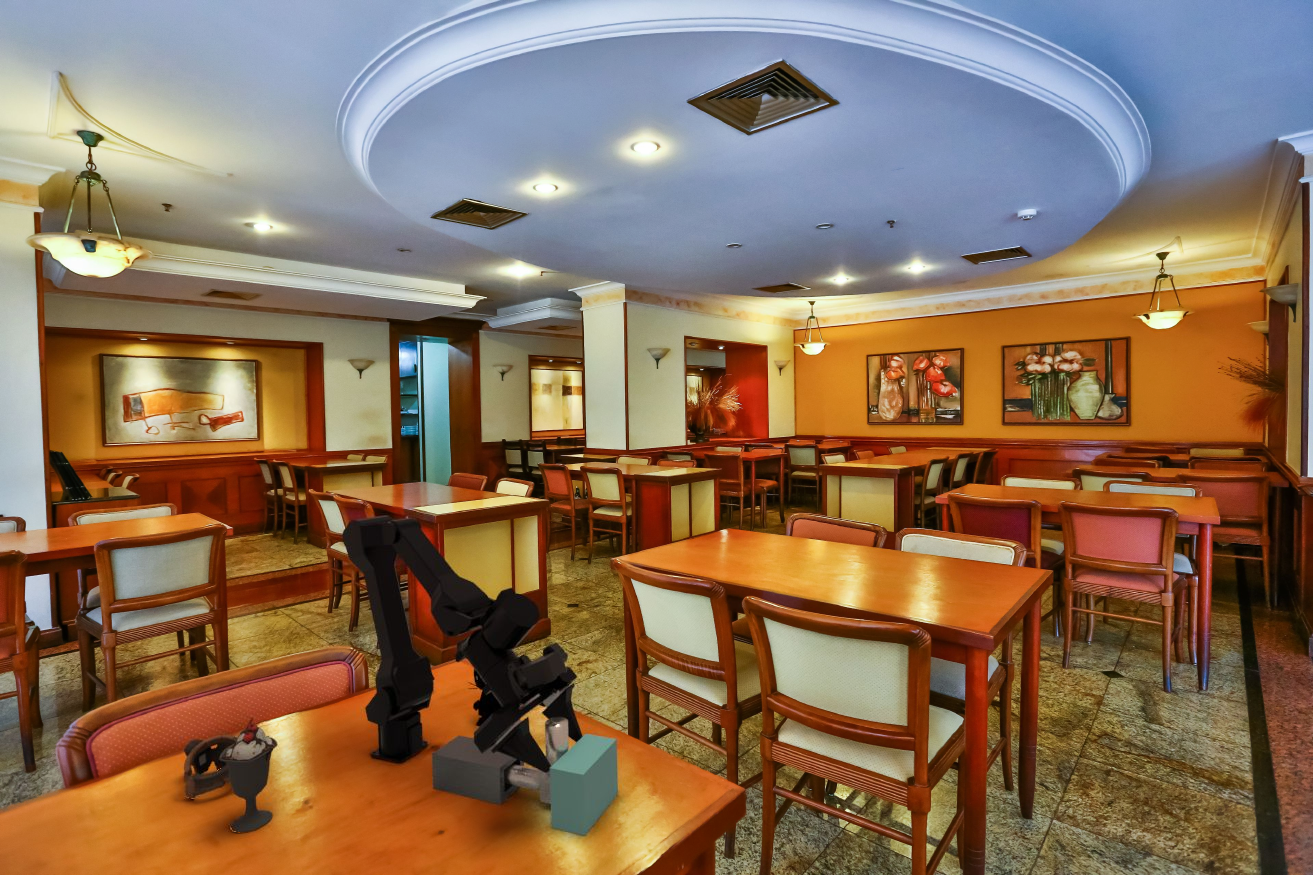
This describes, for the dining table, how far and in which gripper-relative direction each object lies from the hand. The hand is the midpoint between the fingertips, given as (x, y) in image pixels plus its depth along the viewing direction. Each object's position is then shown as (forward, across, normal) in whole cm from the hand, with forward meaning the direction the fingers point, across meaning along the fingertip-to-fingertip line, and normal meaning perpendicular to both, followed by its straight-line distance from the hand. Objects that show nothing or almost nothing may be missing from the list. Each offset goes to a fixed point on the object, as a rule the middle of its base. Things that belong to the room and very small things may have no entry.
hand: (565, 755), depth 89 cm
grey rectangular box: (-5, 0, +16) cm, 17 cm away
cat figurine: (-13, +18, +24) cm, 33 cm away
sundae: (-22, -18, +33) cm, 44 cm away
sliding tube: (0, 0, +9) cm, 9 cm away
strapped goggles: (-32, -13, +44) cm, 56 cm away
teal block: (+7, 0, +3) cm, 8 cm away
